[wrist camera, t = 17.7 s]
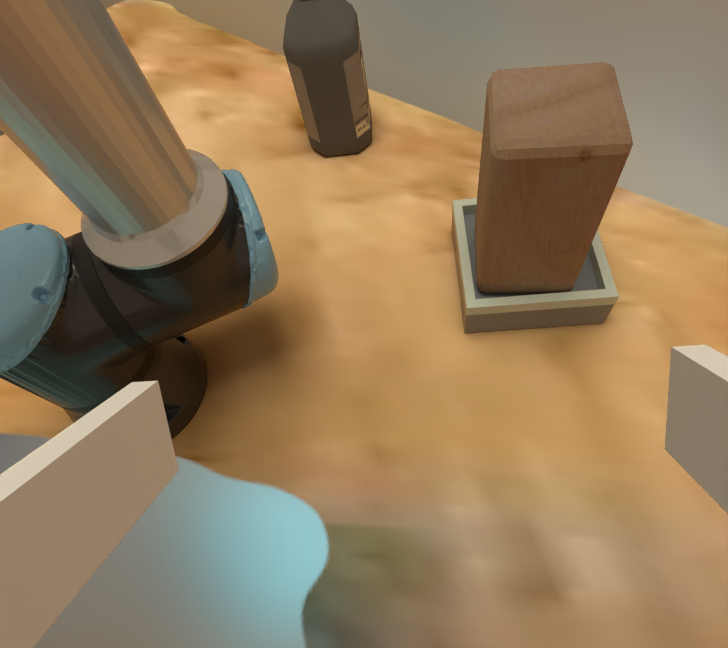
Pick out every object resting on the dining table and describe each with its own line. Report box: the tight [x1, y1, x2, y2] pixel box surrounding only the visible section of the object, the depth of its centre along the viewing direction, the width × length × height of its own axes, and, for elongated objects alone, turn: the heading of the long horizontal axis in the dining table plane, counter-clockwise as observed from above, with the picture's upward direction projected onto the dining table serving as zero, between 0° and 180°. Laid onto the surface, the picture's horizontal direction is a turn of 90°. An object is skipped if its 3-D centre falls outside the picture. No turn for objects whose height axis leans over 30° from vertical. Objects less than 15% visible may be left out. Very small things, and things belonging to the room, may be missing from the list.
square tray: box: [452, 198, 619, 333], centre depth 56 cm, size 15×15×6 cm
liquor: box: [283, 0, 372, 157], centre depth 62 cm, size 9×9×30 cm
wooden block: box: [475, 62, 633, 293], centre depth 46 cm, size 10×10×20 cm
